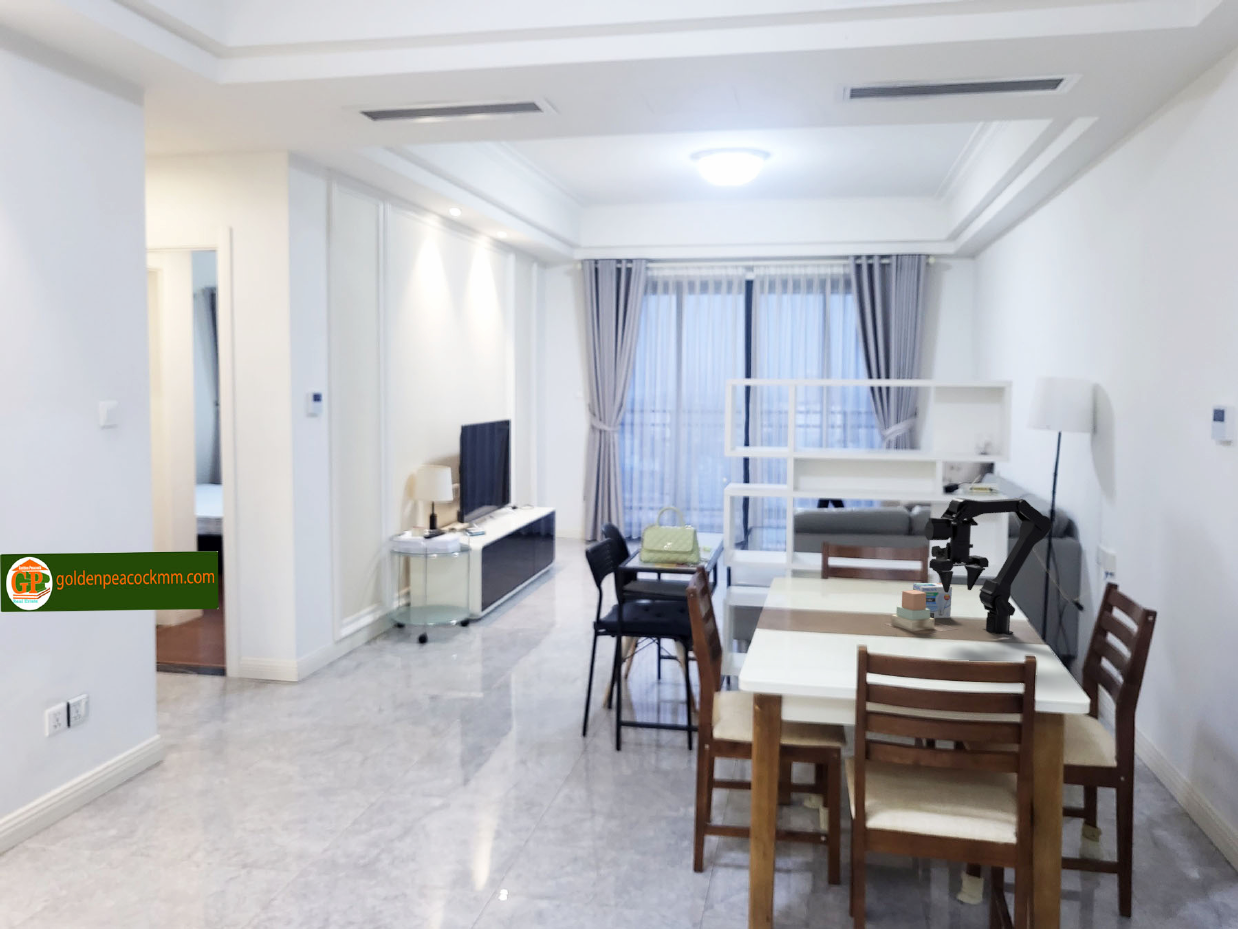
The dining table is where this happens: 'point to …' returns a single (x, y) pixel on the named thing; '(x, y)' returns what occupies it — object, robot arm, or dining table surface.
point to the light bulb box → (936, 599)
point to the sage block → (913, 613)
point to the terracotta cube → (913, 600)
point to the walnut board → (937, 628)
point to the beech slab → (912, 623)
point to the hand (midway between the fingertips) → (957, 591)
